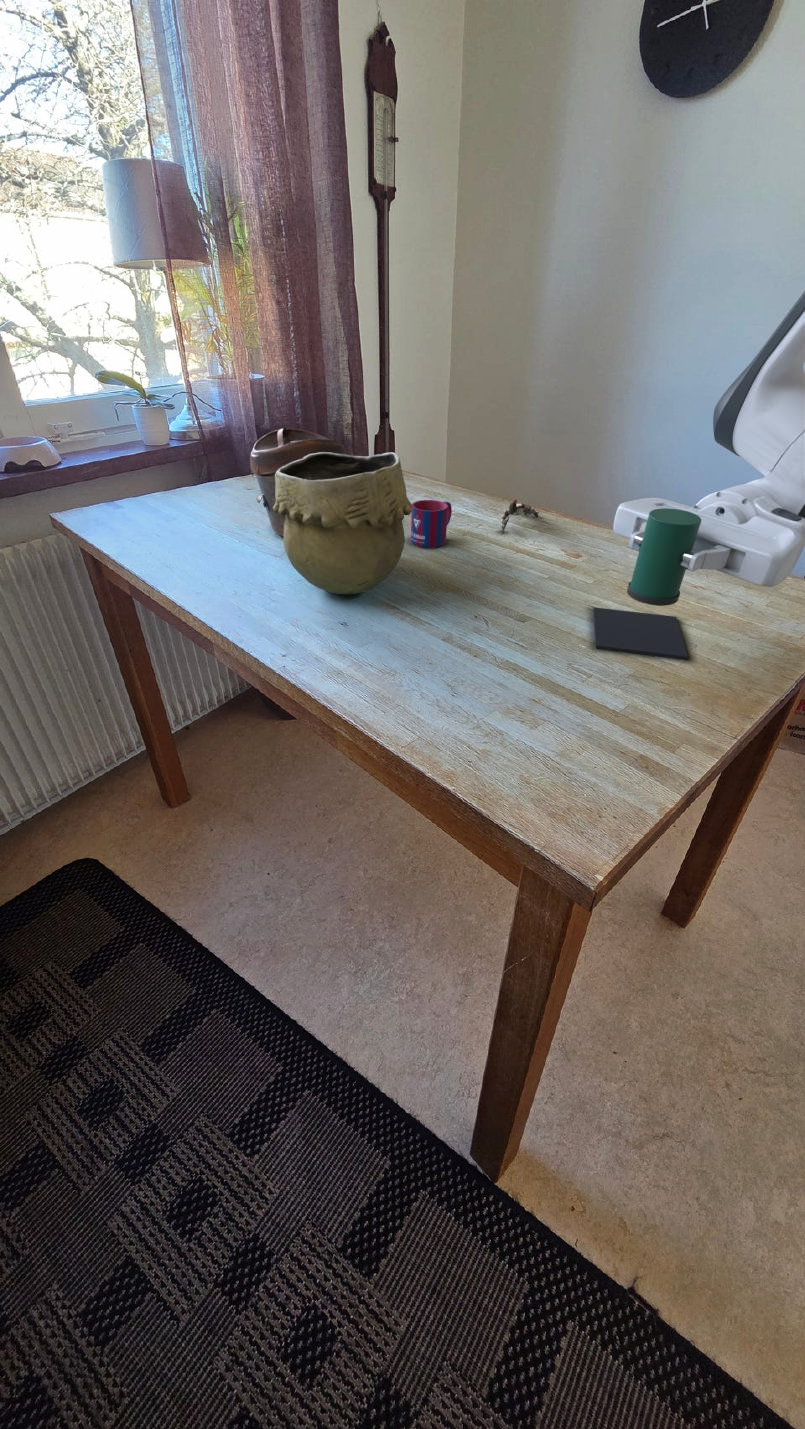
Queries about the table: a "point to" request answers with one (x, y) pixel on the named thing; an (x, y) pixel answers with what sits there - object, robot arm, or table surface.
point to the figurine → (516, 512)
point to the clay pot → (343, 518)
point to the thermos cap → (663, 556)
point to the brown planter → (284, 462)
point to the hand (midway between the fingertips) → (660, 552)
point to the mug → (429, 523)
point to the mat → (638, 633)
